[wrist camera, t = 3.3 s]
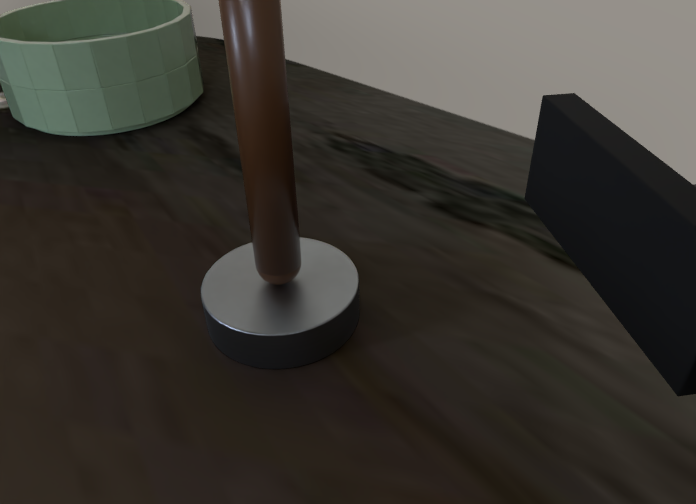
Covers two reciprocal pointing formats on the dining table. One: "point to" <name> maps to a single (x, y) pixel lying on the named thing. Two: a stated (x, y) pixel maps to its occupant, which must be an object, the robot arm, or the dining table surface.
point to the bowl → (99, 64)
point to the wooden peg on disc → (272, 220)
